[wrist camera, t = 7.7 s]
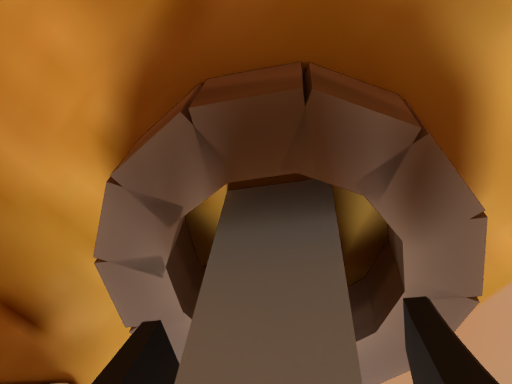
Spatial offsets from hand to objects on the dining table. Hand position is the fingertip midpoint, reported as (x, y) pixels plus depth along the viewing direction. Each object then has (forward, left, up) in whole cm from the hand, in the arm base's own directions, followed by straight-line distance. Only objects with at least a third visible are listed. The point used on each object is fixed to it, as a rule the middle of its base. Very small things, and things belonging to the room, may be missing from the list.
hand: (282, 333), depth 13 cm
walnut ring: (0, 0, -5) cm, 5 cm away
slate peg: (0, 0, -5) cm, 5 cm away
